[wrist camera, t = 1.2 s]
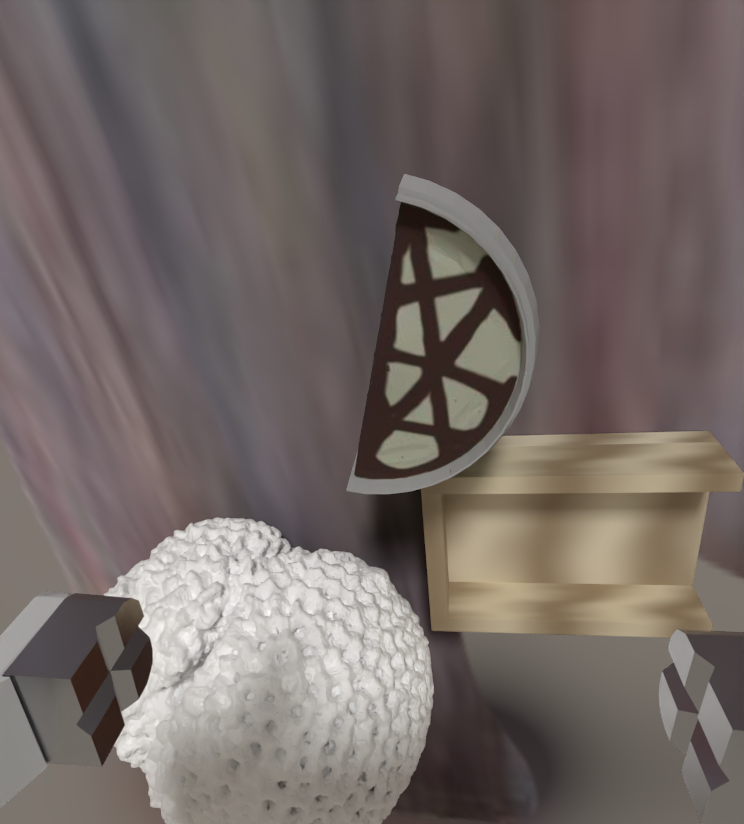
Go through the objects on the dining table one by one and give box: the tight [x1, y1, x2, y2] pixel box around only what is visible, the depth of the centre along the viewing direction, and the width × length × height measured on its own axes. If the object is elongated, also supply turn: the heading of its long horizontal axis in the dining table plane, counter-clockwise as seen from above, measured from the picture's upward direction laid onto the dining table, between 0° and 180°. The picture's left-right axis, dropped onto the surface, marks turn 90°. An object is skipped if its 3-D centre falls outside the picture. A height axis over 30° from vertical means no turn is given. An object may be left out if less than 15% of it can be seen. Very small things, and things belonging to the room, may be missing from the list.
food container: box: [346, 174, 539, 494], centre depth 25 cm, size 12×6×10 cm, turn 171°
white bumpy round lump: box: [104, 517, 434, 824], centre depth 34 cm, size 20×18×16 cm
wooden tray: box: [421, 431, 744, 638], centre depth 32 cm, size 15×10×4 cm
